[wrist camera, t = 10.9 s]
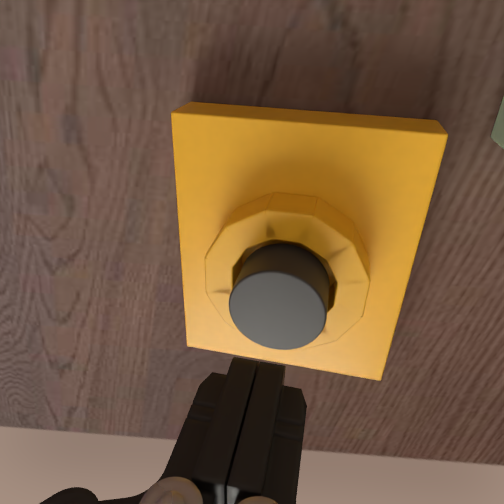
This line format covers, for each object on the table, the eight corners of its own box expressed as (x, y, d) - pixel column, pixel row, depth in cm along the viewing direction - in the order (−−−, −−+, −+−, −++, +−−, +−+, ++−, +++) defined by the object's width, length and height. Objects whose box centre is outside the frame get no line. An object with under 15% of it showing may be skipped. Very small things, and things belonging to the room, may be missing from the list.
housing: (378, 350, 22) (383, 412, 18) (199, 320, 23) (173, 371, 20) (437, 119, 16) (461, 148, 12) (189, 101, 17) (150, 122, 14)
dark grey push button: (323, 323, 17) (320, 358, 15) (240, 309, 18) (228, 341, 16) (335, 249, 15) (333, 279, 14) (241, 236, 16) (228, 264, 14)
